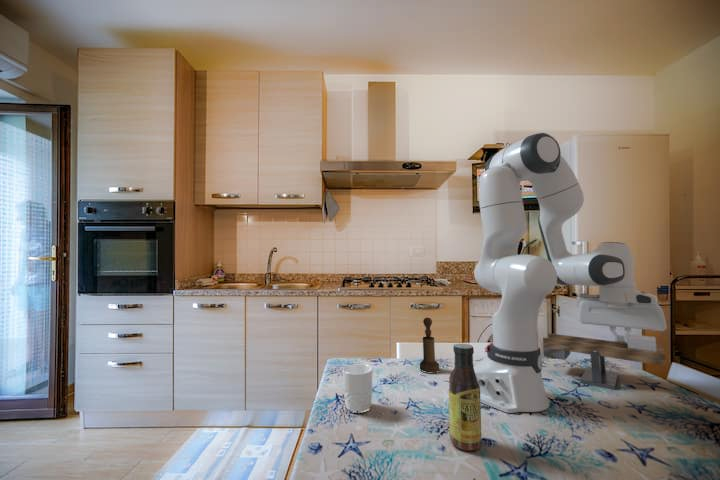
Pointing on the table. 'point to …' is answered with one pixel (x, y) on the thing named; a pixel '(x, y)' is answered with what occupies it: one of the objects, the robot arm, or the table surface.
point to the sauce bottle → (464, 401)
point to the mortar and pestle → (428, 350)
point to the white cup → (357, 386)
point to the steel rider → (641, 343)
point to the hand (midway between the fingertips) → (621, 342)
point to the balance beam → (598, 349)
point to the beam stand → (599, 373)
